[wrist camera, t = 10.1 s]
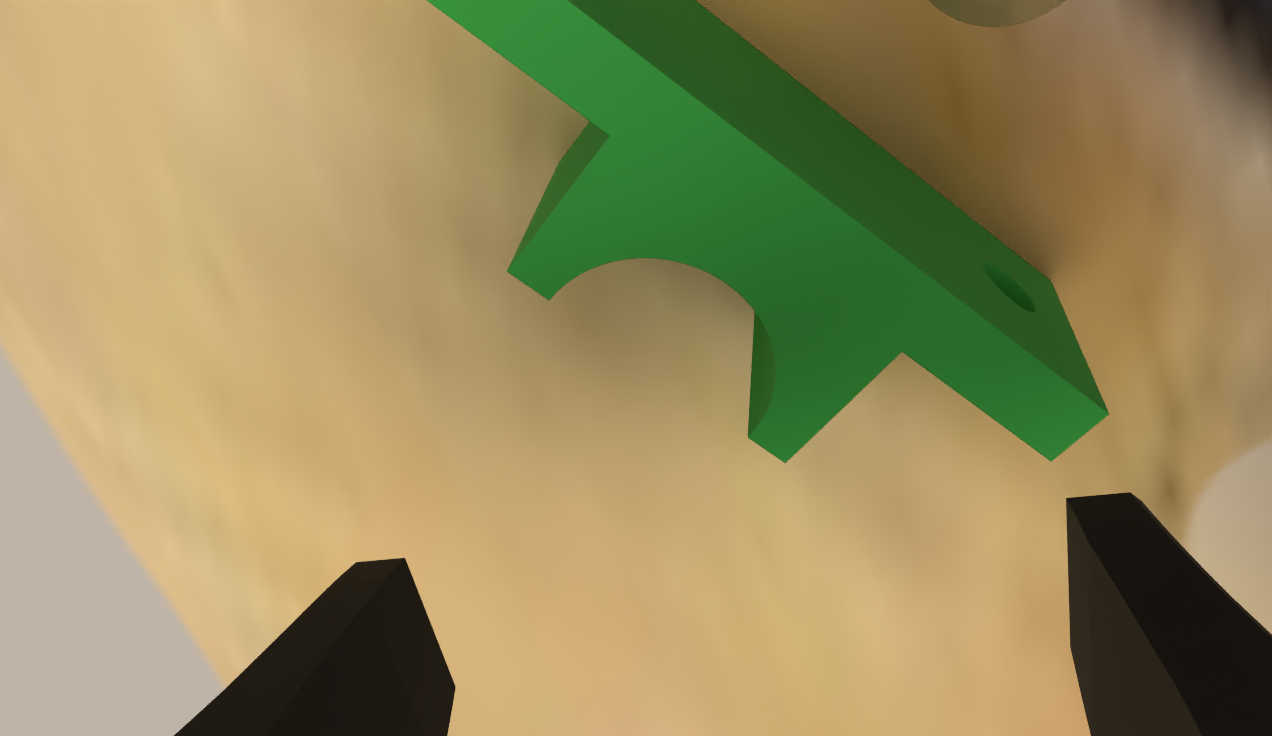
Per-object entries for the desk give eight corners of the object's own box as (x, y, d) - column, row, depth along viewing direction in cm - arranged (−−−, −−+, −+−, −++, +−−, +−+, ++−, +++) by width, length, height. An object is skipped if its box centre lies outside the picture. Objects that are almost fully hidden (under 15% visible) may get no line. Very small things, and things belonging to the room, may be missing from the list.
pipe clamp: (419, 57, 20) (324, 147, 16) (536, -130, 18) (463, -82, 14) (906, 413, 22) (929, 567, 18) (1052, 278, 20) (1112, 417, 16)
